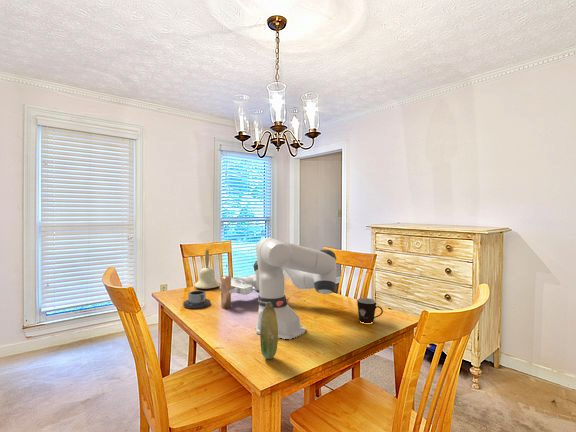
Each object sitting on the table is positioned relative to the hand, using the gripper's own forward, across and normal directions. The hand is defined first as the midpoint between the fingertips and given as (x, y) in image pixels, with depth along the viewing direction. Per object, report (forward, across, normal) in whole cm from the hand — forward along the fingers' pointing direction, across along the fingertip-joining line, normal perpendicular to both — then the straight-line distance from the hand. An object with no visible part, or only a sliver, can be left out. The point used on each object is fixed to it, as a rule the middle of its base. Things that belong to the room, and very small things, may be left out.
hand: (224, 290), depth 163 cm
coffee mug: (-26, -68, -9) cm, 73 cm away
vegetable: (+28, -54, -9) cm, 62 cm away
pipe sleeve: (+6, +15, -9) cm, 19 cm away
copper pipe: (-1, 0, -9) cm, 9 cm away
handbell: (-20, +39, -9) cm, 45 cm away
